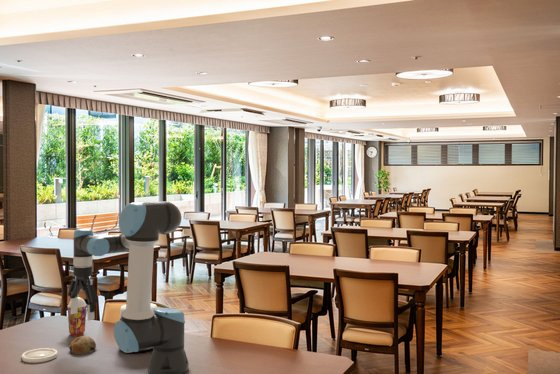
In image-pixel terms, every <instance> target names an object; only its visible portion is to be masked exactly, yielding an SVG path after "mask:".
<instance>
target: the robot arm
mask: <svg viewBox="0 0 560 374" xmlns="http://www.w3.org/2000/svg"><path fill="white" fill-rule="evenodd" d="M180 210H181V209H179V207H178V206H176V205H175V204H174V203H172V202H169V201H166V200H165V201H137V202H136V201H135V202H131V203H127V204H126V205H125V206H124V207H123V208H122V210H121V212H120V214H119V220H118V225H119V226H118V227H119V228H120V229H119V231H120V232H121V234H120V233H119V234H112V235H110V234H109V235H97V236H96V235H94V232H93V229H91V228H78V229H75V230H74V232H73V239H72V240H73V259H72V260H73V261H72V265H73V268H72V269H73V272H72V273H73V275H71V282H70V285H69V289H68V291H67V297H69V298H70V300H71V314H75V313H78V298H75V297H77V295H78V296H79V293H80V291H81V290H82V291H83V292H84V295H85V297H86V300H87V302H88V303H86V304H87V307H86V321H88V322H89V321H93V320H95V305H96V304H98V303H99V300H98V295H97V291H96V288H95V286H96V285H95V279H90V276H92V275H93V266H92V265H93V260H94V257H93V256H95V257H103V256H105V255H110V254H118V253H120V254H121V253H128V259H127V260H128V264H127V265H128V266H127V267H128V268H127V283H126V285H127V286H126V298H125V299H126V303H125V304H126V309H125V310H124V311H123V312H122V313H121V320H120V319H119V320H118V321H116V322H115V324H114V325H113V337H114V339H115V343H116V345H117V347H118V348H119V349H120V350H121V351H122V352H124V353H129V354H130V353H133V352H134V353H138V352H137V351H140V350H144V349H147V348H151V347H153V349H152V353H151V357H150V359H149V362H148V365H147V372H148V373H149V374H185V373H187V372H188V371H189V369H190V368H189V359H188V357H187V353H186V350H185V323H186V321H185V313H184V312H183V311H182V310H180V309H176V308H170V307H157V308H156V309H154V311H152V310H151V309H150V307H151V303H152V286H153V268H154V253H155V252H154V250H155V244H156V243H157V242H159V236H161V235H168V234H171V233H172V232H174V231H176V230H177V229H179V227H180V225H181V223H182V213H181V211H180Z"/></svg>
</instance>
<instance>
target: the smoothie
mask: <svg viewBox="0 0 560 374" xmlns="http://www.w3.org/2000/svg"><path fill="white" fill-rule="evenodd" d="M75 298H78V313H75V314H71V299H70V300H69V302H68V304H67V318H68V319H67V320H68V333H69V335H70V336H71V337H80V336H84V333H85V331H86V321H87V308H88V305H87V304H88V303H86V301H85V299H83V297H80V296H79V294H78V295H77V297H75Z"/></svg>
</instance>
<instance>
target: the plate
mask: <svg viewBox="0 0 560 374" xmlns="http://www.w3.org/2000/svg"><path fill="white" fill-rule="evenodd" d="M57 357H58V350H57V349H55V348H48V347H43V348H35V349H30V350H27V351H24V352H22V355H21V361H23V362H25V363H31V364H35V363H36V364H38V363H44V362H45V363H46V362H49V361H52V360H54V359H56V358H57Z"/></svg>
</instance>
